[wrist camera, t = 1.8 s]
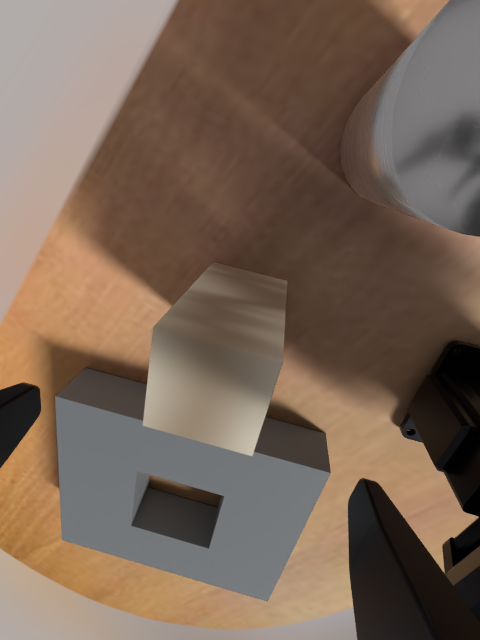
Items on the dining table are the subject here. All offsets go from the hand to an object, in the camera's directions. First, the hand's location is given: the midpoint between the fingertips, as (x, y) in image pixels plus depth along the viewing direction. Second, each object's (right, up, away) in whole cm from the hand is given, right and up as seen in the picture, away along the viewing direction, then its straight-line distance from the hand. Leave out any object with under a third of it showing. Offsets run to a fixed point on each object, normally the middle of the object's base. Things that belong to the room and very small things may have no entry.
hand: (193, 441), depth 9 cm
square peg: (+1, +4, +9) cm, 10 cm away
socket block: (-3, -8, +15) cm, 17 cm away
